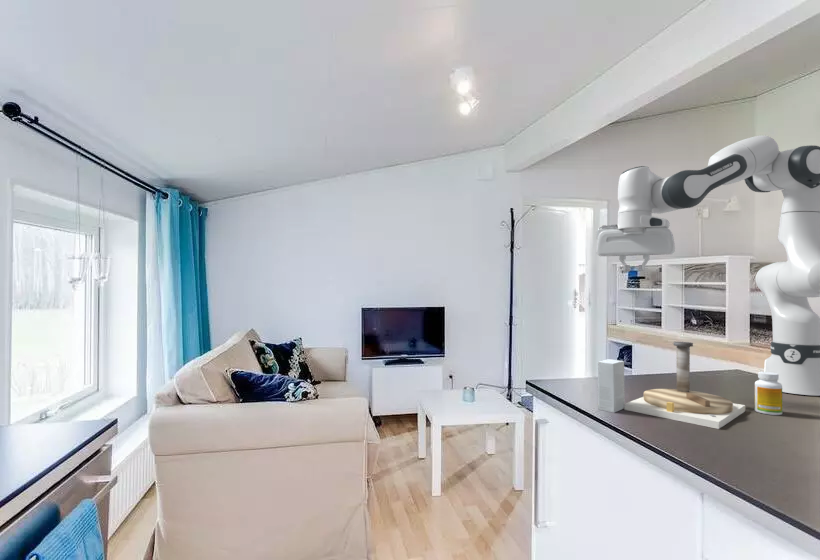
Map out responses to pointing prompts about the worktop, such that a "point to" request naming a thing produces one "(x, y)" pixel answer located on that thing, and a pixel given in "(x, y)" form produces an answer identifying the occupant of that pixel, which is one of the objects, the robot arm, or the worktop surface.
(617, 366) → the skincare box
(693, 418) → the dial stand
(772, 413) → the supplement bottle
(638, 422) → the worktop surface
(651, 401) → the dial
